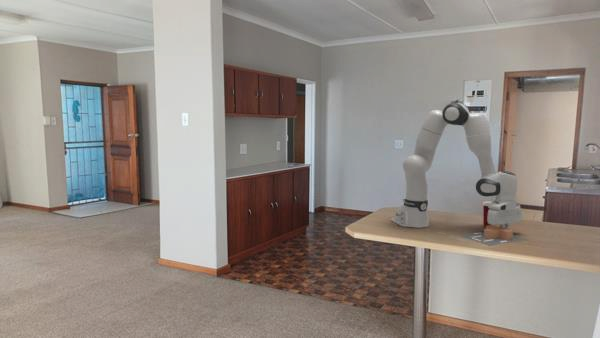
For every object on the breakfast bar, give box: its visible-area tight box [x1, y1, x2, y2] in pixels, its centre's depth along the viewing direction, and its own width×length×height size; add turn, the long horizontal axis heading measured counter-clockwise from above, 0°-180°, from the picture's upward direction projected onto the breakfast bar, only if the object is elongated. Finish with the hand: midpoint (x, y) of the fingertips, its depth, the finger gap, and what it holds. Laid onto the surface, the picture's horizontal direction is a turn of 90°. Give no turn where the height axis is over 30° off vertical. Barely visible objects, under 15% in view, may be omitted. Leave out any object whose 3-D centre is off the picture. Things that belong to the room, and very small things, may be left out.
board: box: [458, 231, 526, 246], centre depth 197 cm, size 18×25×1 cm
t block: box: [483, 225, 514, 240], centre depth 197 cm, size 12×10×4 cm
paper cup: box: [482, 200, 497, 228], centre depth 216 cm, size 8×8×14 cm
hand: (504, 232), depth 200 cm, fingers closed
